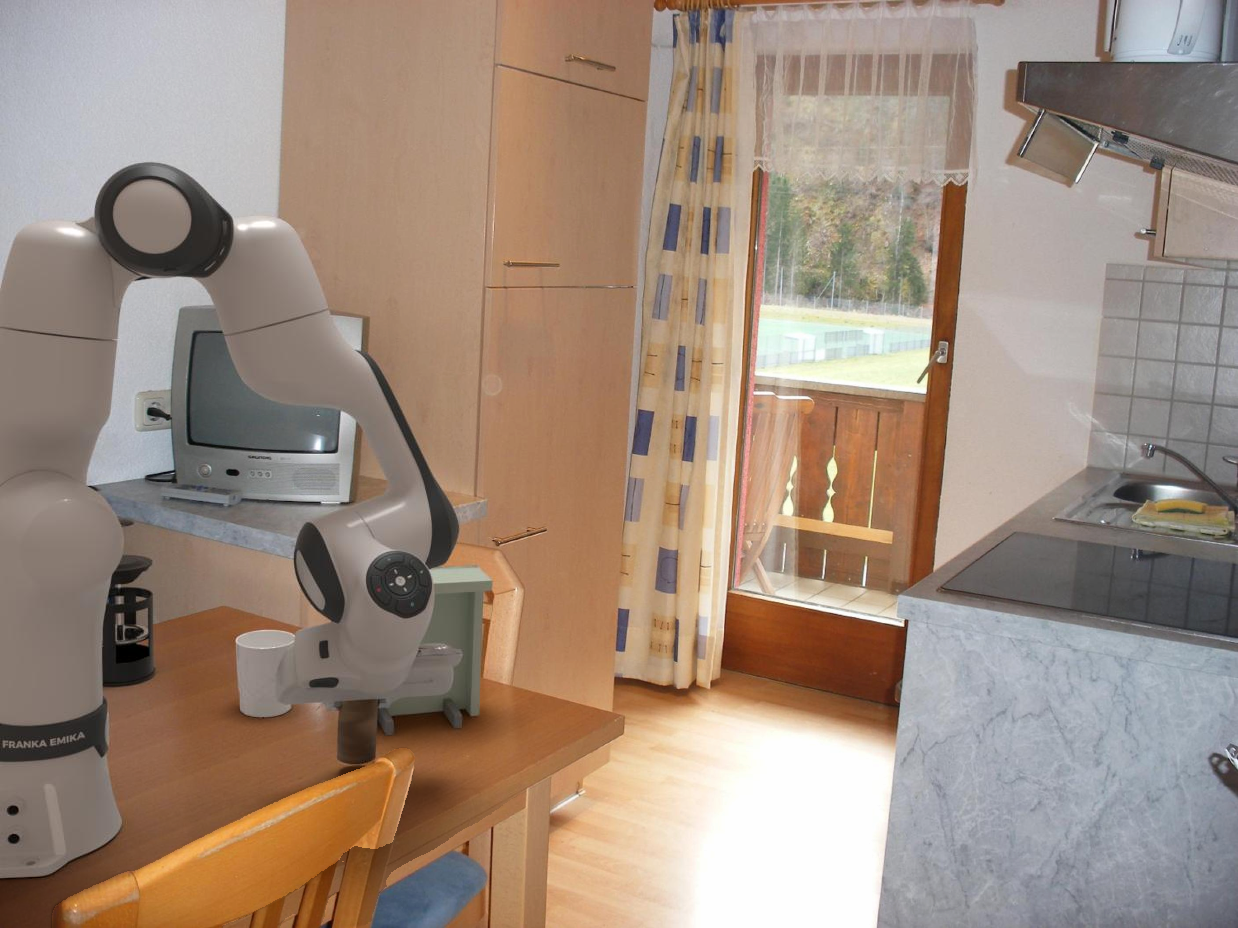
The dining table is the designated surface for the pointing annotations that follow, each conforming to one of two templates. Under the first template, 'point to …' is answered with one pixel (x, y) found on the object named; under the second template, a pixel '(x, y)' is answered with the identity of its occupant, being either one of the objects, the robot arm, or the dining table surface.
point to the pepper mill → (357, 731)
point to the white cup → (261, 671)
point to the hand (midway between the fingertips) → (357, 703)
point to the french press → (127, 626)
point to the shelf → (454, 627)
